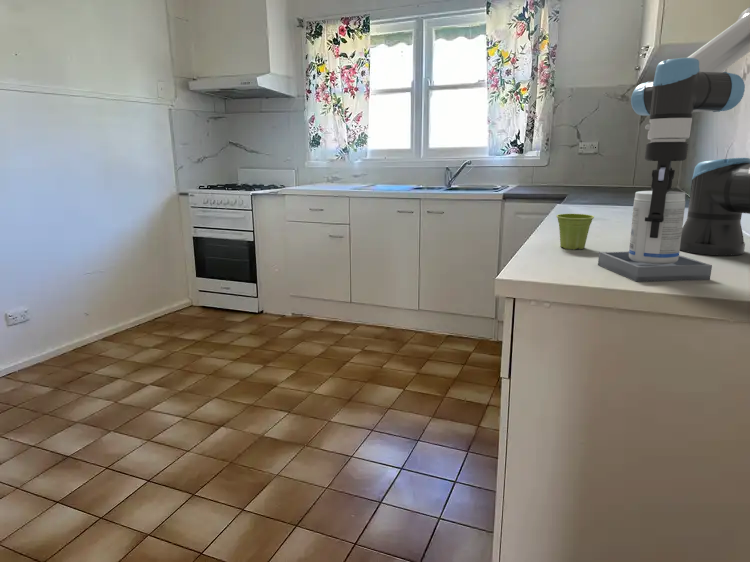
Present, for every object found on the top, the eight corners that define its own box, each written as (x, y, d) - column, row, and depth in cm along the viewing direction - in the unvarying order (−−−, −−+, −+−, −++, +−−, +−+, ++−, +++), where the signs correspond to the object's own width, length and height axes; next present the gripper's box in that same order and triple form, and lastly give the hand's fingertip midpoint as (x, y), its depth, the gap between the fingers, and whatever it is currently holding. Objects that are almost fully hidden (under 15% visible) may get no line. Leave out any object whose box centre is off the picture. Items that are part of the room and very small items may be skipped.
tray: (662, 263, 120) (664, 250, 119) (709, 279, 105) (712, 265, 104) (597, 264, 119) (599, 252, 118) (636, 281, 103) (638, 267, 103)
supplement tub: (686, 261, 110) (696, 192, 106) (662, 267, 105) (672, 194, 101) (642, 254, 117) (650, 189, 114) (618, 259, 112) (625, 191, 109)
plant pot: (587, 252, 133) (590, 218, 131) (549, 248, 138) (552, 216, 136) (594, 246, 141) (597, 214, 138) (558, 243, 146) (561, 212, 143)
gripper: (650, 141, 116) (639, 239, 121) (641, 140, 98) (628, 256, 103) (689, 141, 112) (675, 242, 118) (687, 140, 94) (671, 260, 99)
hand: (653, 248), depth 110 cm, fingers closed on supplement tub, 9 cm apart
